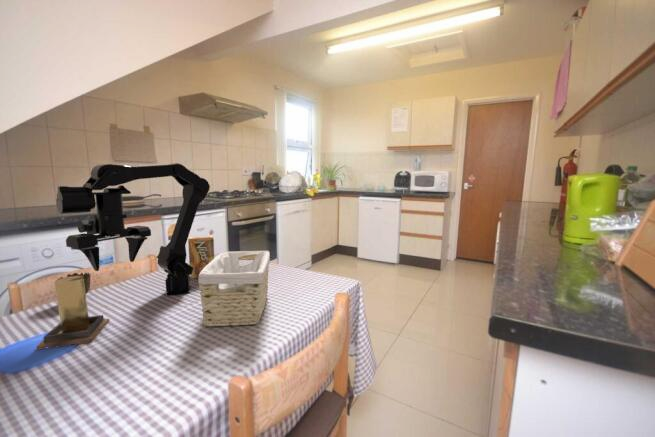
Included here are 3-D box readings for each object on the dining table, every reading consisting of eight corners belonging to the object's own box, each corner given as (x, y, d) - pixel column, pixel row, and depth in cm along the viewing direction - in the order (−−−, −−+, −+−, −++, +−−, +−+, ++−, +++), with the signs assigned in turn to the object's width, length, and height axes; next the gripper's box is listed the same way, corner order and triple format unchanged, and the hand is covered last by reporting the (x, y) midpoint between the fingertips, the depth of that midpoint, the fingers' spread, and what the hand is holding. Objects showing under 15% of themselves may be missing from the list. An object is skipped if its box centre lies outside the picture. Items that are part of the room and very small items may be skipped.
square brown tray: (109, 321, 74) (108, 313, 74) (92, 341, 65) (91, 332, 65) (62, 327, 71) (61, 318, 71) (36, 349, 62) (35, 339, 62)
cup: (73, 308, 82) (70, 281, 80) (53, 305, 83) (50, 279, 82) (99, 297, 89) (96, 273, 88) (80, 295, 90) (77, 271, 89)
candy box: (214, 272, 114) (212, 235, 112) (215, 276, 110) (213, 237, 108) (190, 275, 110) (188, 237, 108) (190, 279, 106) (188, 239, 104)
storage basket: (222, 293, 94) (221, 250, 92) (271, 291, 96) (271, 249, 94) (197, 331, 71) (194, 274, 69) (263, 328, 72) (262, 273, 70)
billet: (95, 325, 71) (89, 275, 68) (77, 336, 66) (70, 283, 64) (75, 324, 71) (68, 275, 69) (56, 336, 66) (48, 283, 64)
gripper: (126, 206, 89) (130, 254, 91) (50, 212, 71) (57, 271, 74) (150, 208, 85) (154, 258, 87) (76, 215, 67) (82, 278, 70)
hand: (115, 265), depth 79 cm, fingers open, 9 cm apart
